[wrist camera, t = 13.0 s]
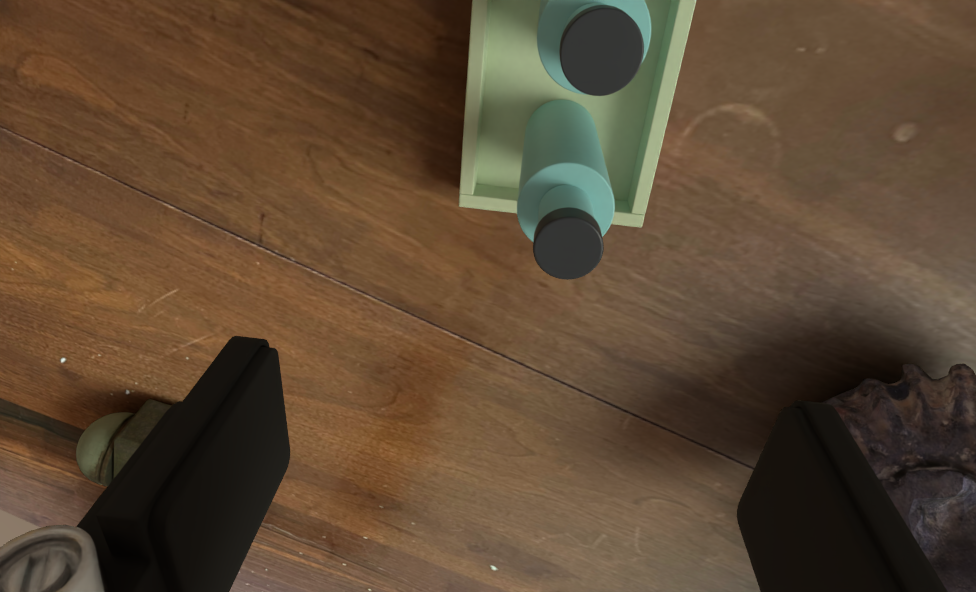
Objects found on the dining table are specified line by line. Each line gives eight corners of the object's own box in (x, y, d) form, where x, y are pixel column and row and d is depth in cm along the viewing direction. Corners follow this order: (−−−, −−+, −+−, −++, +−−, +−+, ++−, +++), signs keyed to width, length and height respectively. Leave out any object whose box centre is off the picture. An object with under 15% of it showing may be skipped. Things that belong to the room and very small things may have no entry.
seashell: (1022, 407, 41) (804, 321, 45) (1212, 417, 29) (889, 297, 32) (920, 677, 40) (702, 569, 43) (1072, 811, 28) (750, 646, 31)
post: (211, 613, 64) (246, 422, 48) (183, 668, 59) (213, 477, 44) (105, 583, 63) (106, 378, 47) (68, 637, 58) (55, 429, 42)
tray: (497, -284, 26) (492, -306, 24) (745, -262, 25) (764, -281, 23) (463, 190, 37) (458, 207, 35) (636, 210, 37) (642, 228, 34)
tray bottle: (545, -42, 30) (544, -29, 17) (626, -34, 30) (685, -15, 17) (535, 44, 32) (527, 113, 19) (610, 53, 32) (653, 127, 19)
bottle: (529, 95, 33) (518, 190, 20) (602, 103, 33) (635, 203, 20) (521, 165, 35) (506, 291, 23) (589, 173, 35) (613, 303, 22)
